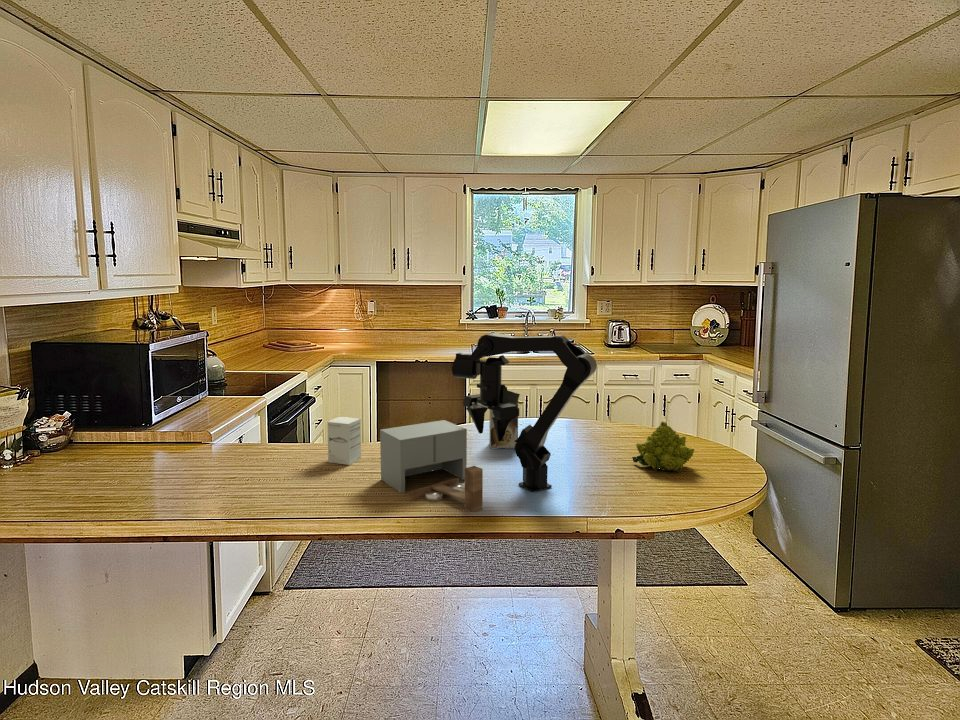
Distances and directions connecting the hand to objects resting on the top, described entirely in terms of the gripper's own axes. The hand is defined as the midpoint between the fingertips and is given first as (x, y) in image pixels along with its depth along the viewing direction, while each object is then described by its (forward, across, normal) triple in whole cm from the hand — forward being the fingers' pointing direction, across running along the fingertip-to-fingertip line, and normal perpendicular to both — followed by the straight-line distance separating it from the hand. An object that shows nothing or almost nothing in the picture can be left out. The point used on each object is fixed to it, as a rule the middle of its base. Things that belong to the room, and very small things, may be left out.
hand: (490, 437), depth 167 cm
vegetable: (+12, -20, -48) cm, 54 cm away
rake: (+12, -8, +16) cm, 22 cm away
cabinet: (+12, +10, +15) cm, 22 cm away
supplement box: (+12, +37, +27) cm, 47 cm away
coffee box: (+12, +24, -22) cm, 35 cm away
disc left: (+12, -4, +20) cm, 24 cm away
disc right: (+12, -2, +12) cm, 17 cm away
